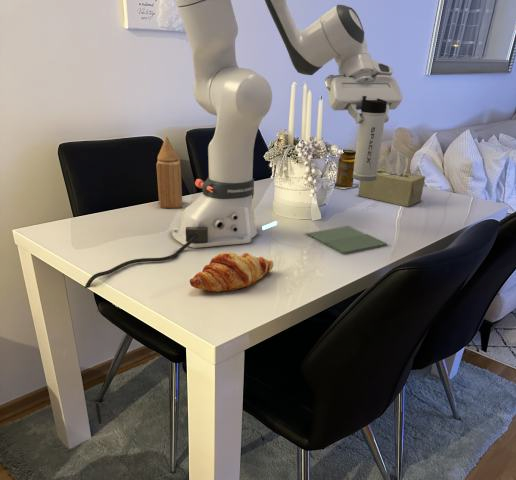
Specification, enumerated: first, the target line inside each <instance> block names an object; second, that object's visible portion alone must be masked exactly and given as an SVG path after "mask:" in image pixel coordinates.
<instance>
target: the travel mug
mask: <svg viewBox="0 0 516 480" xmlns="http://www.w3.org/2000/svg"><path fill="white" fill-rule="evenodd" d="M362 97H363V100H362V108H361V110H360V114H363V117H364V121H363V122H362V123H358V130H357V131H358V132H357V140H356V147H355V148H356V149H355V151H356V155H355V163H354V172H353V178H354V179H353V180H356V181H359V182H360V181H374V180H375V179H376V175H377V168H379V163H378V161H379V158H380V154H381V148H382V142H383V141H382V140H383V135H384V134H383V133H384V127H385V123H384V121H385V114H386V105H387V101H385V100H382V99H377V100H366V97H367V96H362ZM364 98H365V99H364Z"/></svg>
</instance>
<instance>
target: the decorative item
mask: <svg viewBox="0 0 516 480" xmlns="http://www.w3.org/2000/svg"><path fill="white" fill-rule="evenodd" d="M156 159H157V162H156V177H157V191H158V192H157V193H158V205H159V207H160V208H161V209H180V208H182V205H183V189H182V169H181V168H182V167H181V159H180V158H179V156H178V155H177V153H176V151H175V149H174V147H173V145H172V143H171V141H170V139H169V138H168V136H165V139H164V141H163V143H162V145H161V148H160V150H159V152H158V154H157V158H156Z"/></svg>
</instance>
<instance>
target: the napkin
mask: <svg viewBox="0 0 516 480" xmlns="http://www.w3.org/2000/svg"><path fill="white" fill-rule="evenodd" d="M306 235H307V236H309V237H311V238H313V239H315V240H316V241H318V242H321V243H322V244H324V245H326V246H328V247H330V248H332V249H333V250H335V251H336V252H337V251H338V252H339V253H341V254H343V255H347V254H352V253H353V254H354V253H357V252H362V251H367V250H372V249H376V248H383V247H387V246H388V243H387V242H385V241H383V240H380V239H378V238H376V237H374V236H372V235H369V234H368V233H363V232H361V231H359V230H357V229H354V228H352V227H350V226H341V227H336V228H330V229H325V230H318V231H314V232H313V231H312V232H307V233H306Z"/></svg>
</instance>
